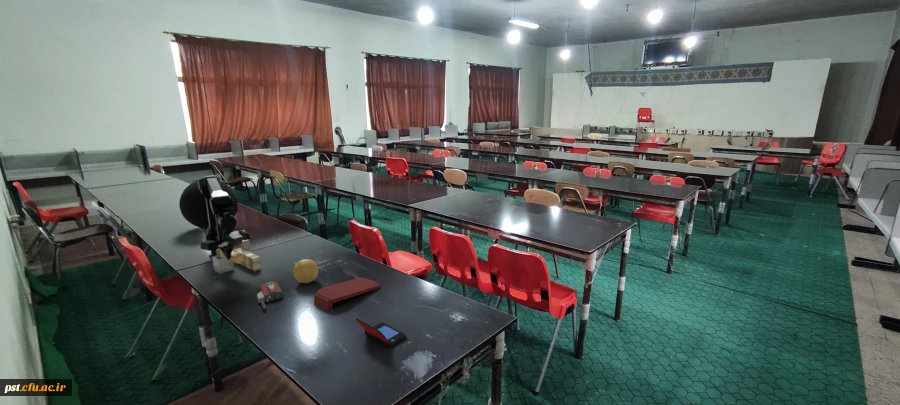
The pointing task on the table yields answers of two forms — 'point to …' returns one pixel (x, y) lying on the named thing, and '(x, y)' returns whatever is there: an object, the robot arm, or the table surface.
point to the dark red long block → (343, 291)
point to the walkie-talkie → (269, 292)
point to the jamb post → (222, 265)
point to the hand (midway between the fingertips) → (228, 259)
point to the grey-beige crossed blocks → (248, 256)
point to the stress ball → (305, 271)
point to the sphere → (200, 204)
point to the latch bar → (234, 256)
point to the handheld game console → (383, 333)
